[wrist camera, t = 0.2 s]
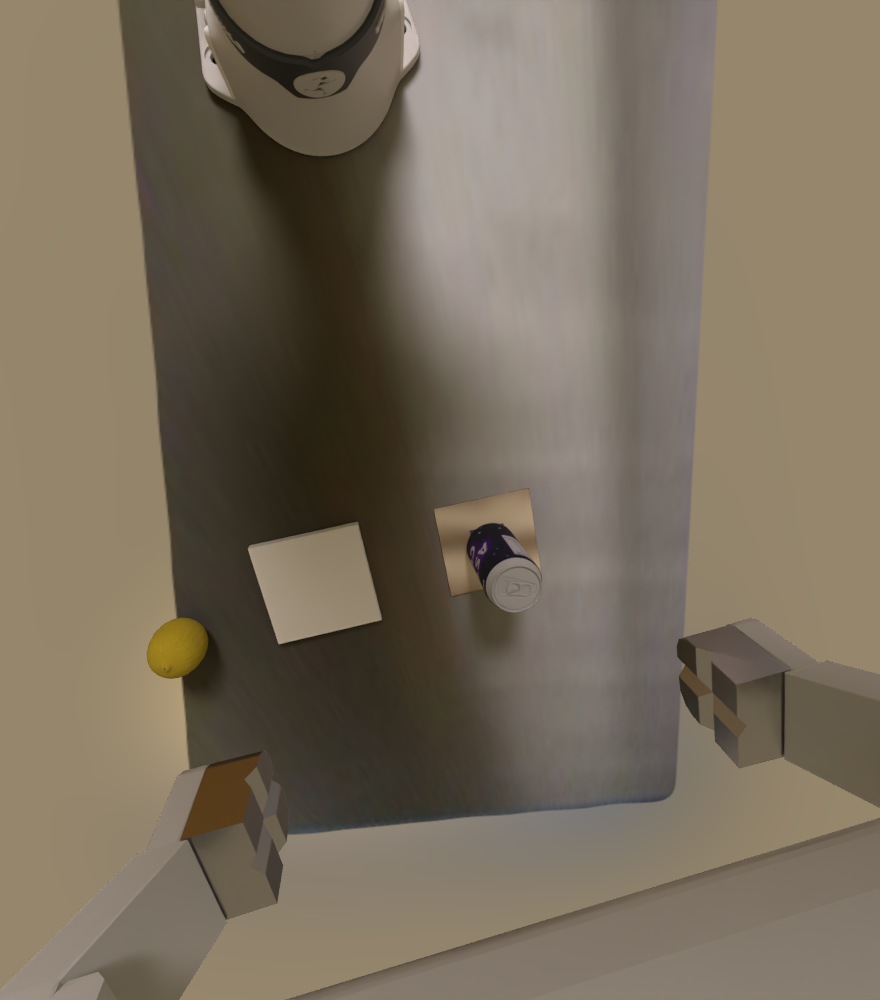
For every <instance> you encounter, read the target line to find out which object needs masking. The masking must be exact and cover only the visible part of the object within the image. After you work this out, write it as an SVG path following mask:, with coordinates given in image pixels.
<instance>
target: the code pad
mask: <svg viewBox="0 0 880 1000" xmlns="http://www.w3.org/2000/svg"><path fill="white" fill-rule="evenodd" d="M434 513H435V518H436V523H437V528H438V533H439V538H440V543H441V547H442V552H443V557H444V562H445V567H446V572H447V577H448V582H449V587H450V592H451V596H455V595H460V594H464V593H468V592H472V591H477V590H481V589H483V587H482V585H481V583H480V581H479V578H478V576H477V574H476V572H475V570H474V568H473V566H472V563H471V561H470V559H469V557H468V554H467V542H468V539H469V537H470V535H471V534H472V533H473V531H474V530H476V529H477V528H478V527H480V526H482V525H484V524H488V523H498V524H501V525H504V526H505V527H507V528H508V529H509V530H510V531H511V532H512V533H513V535H514V536H515V537H516V539H517V540H518V541H519V543H520V544H521V545H522V547H523V548H524V549H525V551H526V552H527V553H528V555H529V556H530V557H531V558H532V560H533V561H534V562H535V564H536V565H537V566H538V568H539V570H540V563H539V556H538V549H537V542H536V535H535V528H534V522H533V515H532V508H531V501H530V494H529V488H527V489H522V490H518V491H513V492H509V493H504V494H499V495H495V496H490V497H486V498H481V499H477V500H472V501H468V502H463V503H459V504H454V505H450V506H445V507H441V508H436V509H434ZM540 572H541V570H540Z"/></svg>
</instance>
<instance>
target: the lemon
mask: <svg viewBox="0 0 880 1000" xmlns="http://www.w3.org/2000/svg"><path fill="white" fill-rule="evenodd" d="M207 648H208V636H207V632H206V630H205V628H204V627H203V626H202V625H201V624H200V623H199V622H197V621H196V620H193V619H190V618H177V619H174V620H171V621H169V622H167V623H165V624H164V625H163V626H161V627H160V628H159V629H158V630H157V631H156V632H155V634H154V635H153V637H152V639H151V641H150V643H149V646H148V651H147V660H148V664H149V666H150V668H151V669H152V671H153V672H155V673H156V674H157V675H159V676H161V677H165V678H172V679H173V678H179V677H182V676H184V675H187V674H188V673H190V672H191V671H192V670H194V669H195V668H196V667H197V666H198V665H199V663H200V662H201V661H202V660H203V658H204V656H205V653H206V651H207Z"/></svg>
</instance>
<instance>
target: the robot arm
mask: <svg viewBox="0 0 880 1000" xmlns="http://www.w3.org/2000/svg"><path fill="white" fill-rule="evenodd" d="M194 1H195V4H196V13H197V23H198V33H199V43H200V53H201V63H202V72H203V77H204V79H205V82H206V84H207V86H208V88H209V89H210V90H211V91H212V92H213V93H214V94H216V95H217V96H219V97H220V98H222V99H224V100H226V101H228V102H230V103H232V104H234V105H236V106H238V107H240V108H241V109H242V110H243V111H245V112H246V113H247V114H248V115H249V116H250V118H251V119H252V120H253V121H254V122H255V123H256V124H257V125H258V126H259V127H260V128H261V129H262V130H263V131H264V132H265V133H266V134H267V135H268V136H269V137H271V138H272V139H273V140H275V141H276V142H278V143H279V144H281V145H283V146H285V147H287V148H289V149H291V150H293V151H296V152H299V153H302V154H306V155H312V156H331V155H337V154H341V153H344V152H347V151H349V150H352V149H354V148H356V147H357V146H359V145H361V144H362V143H363V142H365V141H366V140H367V139H368V138H369V137H370V136H371V135H372V134H373V133H374V132H375V131H376V130H377V129H378V127H379V126H380V124H381V123H382V121H383V120H384V118H385V116H386V114H387V112H388V110H389V108H390V105H391V102H392V99H393V96H394V93H395V90H396V88H397V86H398V84H399V82H400V80H401V79H402V78H403V77H404V76H405V75H406V74H407V73H408V72H409V70H410V69H411V68H412V67H413V66H414V64H415V63H416V61H417V59H418V57H419V54H420V40H419V36H418V33H417V30H416V27H415V24H414V21H413V18H412V15H411V12H410V9H409V6H408V3H407V0H194ZM404 29H405V31H406V33H405V34H404ZM213 58H214V59H215V61H216V63H217V64H214V63H213ZM677 657H678V658H679V659H680V660H681V661H682V662H683V663H684V664H685V666H684V668H683V670H682V671H681V673H680V675H679V682H680V690H681V693H682V696H683V699H684V701H685V704H686V706H687V707H688V709H689V711H690V712H691V714H692V715H693V717H694V718H695V719H696V720H697V721H698V722H699V724H701V725H703V726H705V727H708V728H710V729H713V730H714V731H715V742H716V743H717V744H718V745H719V746H720V747H721V749H722V750H723V751H724V752H725V753H726V754H727V755H728V756H729V758H730V759H731V760H732V761H733V762H734V763H735V764H736V765H737V766H738V768H742V767H746V766H750V765H754V764H758V763H762V762H766V761H769V760H773V759H777V758H781V757H784V758H785V760H787V761H789V762H791V763H793V764H795V765H797V766H799V767H801V768H803V769H805V770H807V771H809V772H811V773H813V774H815V775H816V776H818V777H820V778H822V779H825V780H826V781H828V782H830V783H832V784H834V785H836V786H838V787H840V788H842V789H844V790H846V791H848V792H850V793H852V794H854V795H856V796H858V797H860V798H862V799H864V800H865V801H868V802H869V803H871V804H873V805H875V806H877V807H879V808H880V674H876V673H872V672H868V671H864V670H860V669H857V668H853V667H849V666H845V665H841V664H838V663H834V662H830V661H824V662H820V663H819V662H817V661H816V660H815V659H813V658H812V657H810V656H809V655H807V654H806V653H805V652H803V651H801V650H800V649H799V648H797V647H796V646H794V645H793V644H792V643H790V642H789V641H787V640H786V639H784V638H783V637H782V636H780V635H779V634H777V633H776V632H775V631H773V630H772V629H770V628H769V627H767V626H766V625H765V624H763V623H762V622H760V621H759V620H757V619H752V618H749V619H745V620H742V621H738V622H735V623H732V624H728V625H727V626H725V627H720V628H717V629H713V630H710V631H706V632H702V633H699V634H695V635H691V636H688V637H684V638H681V639H679V641H678V644H677ZM273 769H274V766H273V764H272V762H271V759H270V757H269V755H268V753H266V752H264V751H261V752H257V753H253V754H249V755H245V756H240V757H236V758H232V759H228V760H224V761H220V762H216V763H212V764H210V765H205V766H201V767H197V768H194V769H190V770H186V771H183V772H182V773H181V774H180V775H178V777H177V778H176V780H175V783H174V785H173V788H172V790H171V792H170V795H169V797H168V799H167V802H166V804H165V806H164V809H163V811H162V813H161V816H160V818H159V821H158V823H157V825H156V828H155V830H154V832H153V835H152V837H151V839H150V842H149V844H148V846H147V849H146V851H145V852H141V853H137V854H136V855H135V856H134V857H133V858H132V859H131V860H130V861H129V862H128V863H127V864H126V865H125V866H124V867H123V868H122V869H121V870H120V871H119V872H118V873H117V874H116V875H115V876H114V877H113V878H112V879H111V880H110V881H109V882H108V883H107V884H106V885H105V886H104V887H103V888H102V889H101V890H100V891H99V892H98V893H97V894H96V895H95V896H94V897H93V898H92V899H91V900H90V901H89V902H88V903H87V904H86V905H85V906H84V907H83V908H82V909H81V910H80V911H79V912H78V913H77V914H76V915H75V916H74V917H73V918H72V919H71V920H70V921H69V922H68V923H67V924H66V925H65V926H64V927H63V928H62V929H61V930H60V931H59V932H58V933H57V934H56V935H55V936H54V937H53V938H52V939H51V940H50V941H49V942H48V943H47V944H46V945H45V946H44V947H43V948H42V949H41V950H40V951H39V952H38V953H37V954H36V955H35V956H34V957H33V958H32V959H31V960H30V961H29V962H28V963H27V964H26V965H25V966H24V967H23V968H22V969H21V970H20V971H19V972H18V973H17V974H16V975H15V976H14V977H13V978H12V979H11V980H10V981H9V982H8V983H7V984H6V985H5V986H4V987H3V988H2V989H1V990H0V1000H179V999H180V997H181V996H182V994H183V992H184V991H185V989H186V988H187V986H188V984H189V983H190V981H191V979H192V978H193V976H194V975H195V973H196V972H197V970H198V968H199V967H200V965H201V964H202V962H203V960H204V959H205V957H206V956H207V954H208V952H209V951H210V949H211V947H212V946H213V944H214V943H215V941H216V940H217V938H218V936H219V935H220V933H221V931H222V930H223V928H224V927H225V925H226V923H227V922H226V920H227V919H230V918H233V917H236V916H239V915H242V914H245V913H249V912H252V911H254V910H258V909H261V908H264V907H267V906H270V905H273V904H276V903H277V901H278V895H279V888H280V882H281V875H282V869H283V864H282V862H281V859H280V857H279V854H278V852H279V851H280V850H281V848H282V847H283V846H284V844H285V843H286V841H287V834H288V808H287V804H286V799H285V795H284V792H283V790H282V787H281V785H279V784H277V783H276V782H274V781H272V780H271V779H272V774H273ZM287 1000H880V818H878V819H875V820H872V821H868V822H865V823H862V824H859V825H855V826H852V827H849V828H846V829H842V830H839V831H836V832H832V833H829V834H826V835H823V836H820V837H816V838H813V839H810V840H806V841H803V842H800V843H796V844H793V845H790V846H787V847H783V848H780V849H777V850H774V851H770V852H767V853H764V854H761V855H757V856H754V857H751V858H748V859H744V860H741V861H738V862H734V863H731V864H728V865H724V866H721V867H718V868H715V869H711V870H708V871H705V872H702V873H698V874H695V875H692V876H688V877H685V878H682V879H679V880H675V881H672V882H669V883H666V884H662V885H659V886H656V887H653V888H649V889H646V890H643V891H639V892H636V893H633V894H629V895H626V896H623V897H620V898H616V899H613V900H610V901H607V902H604V903H600V904H597V905H594V906H590V907H587V908H584V909H581V910H577V911H574V912H571V913H567V914H564V915H561V916H558V917H554V918H551V919H548V920H545V921H541V922H538V923H535V924H532V925H528V926H525V927H522V928H518V929H516V930H512V931H509V932H505V933H503V934H499V935H496V936H493V937H489V938H486V939H483V940H479V941H476V942H473V943H470V944H466V945H463V946H460V947H456V948H453V949H450V950H447V951H444V952H440V953H437V954H434V955H431V956H427V957H424V958H420V959H417V960H414V961H411V962H407V963H404V964H401V965H398V966H395V967H391V968H388V969H385V970H382V971H378V972H375V973H372V974H368V975H365V976H362V977H358V978H355V979H352V980H349V981H345V982H342V983H339V984H336V985H333V986H329V987H326V988H322V989H320V990H316V991H313V992H309V993H306V994H303V995H300V996H296V997H293V998H290V999H287Z"/></svg>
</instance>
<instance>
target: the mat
mask: <svg viewBox="0 0 880 1000" xmlns="http://www.w3.org/2000/svg"><path fill="white" fill-rule="evenodd" d="M248 551H249V554H250V558H251V561H252V564H253V567H254V570H255V573H256V576H257V579H258V582H259V585H260V588H261V591H262V595H263V598H264V601H265V604H266V607H267V610H268V613H269V616H270V619H271V622H272V625H273V628H274V631H275V635H276V638H277V641H278V644H282V643H286V642H290V641H295V640H299V639H303V638H308V637H312V636H316V635H320V634H325V633H329V632H333V631H337V630H342V629H346V628H350V627H354V626H359V625H363V624H367V623H371V622H376V621H380V620H382V615H381V611H380V607H379V603H378V599H377V595H376V591H375V587H374V583H373V579H372V575H371V571H370V567H369V564H368V560H367V556H366V552H365V548H364V544H363V540H362V536H361V532H360V528H359V524H358V522H353V523H349V524H344V525H340V526H335V527H331V528H326V529H322V530H317V531H313V532H308V533H304V534H299V535H295V536H290V537H286V538H281V539H277V540H272V541H268V542H263V543H259V544H254V545H250V546H249V547H248Z"/></svg>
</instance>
